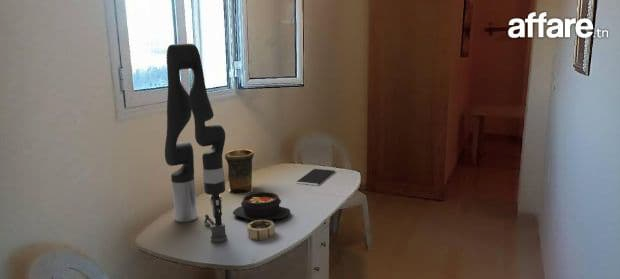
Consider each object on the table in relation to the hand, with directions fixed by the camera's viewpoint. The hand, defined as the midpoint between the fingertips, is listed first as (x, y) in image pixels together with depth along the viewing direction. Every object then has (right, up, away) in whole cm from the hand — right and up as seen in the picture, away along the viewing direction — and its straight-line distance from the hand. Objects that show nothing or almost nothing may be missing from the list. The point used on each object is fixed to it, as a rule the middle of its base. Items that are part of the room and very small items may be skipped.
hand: (217, 221), depth 163 cm
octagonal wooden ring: (+16, -6, +6) cm, 18 cm away
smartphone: (+38, +9, +77) cm, 86 cm away
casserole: (+14, -3, +25) cm, 28 cm away
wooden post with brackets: (-6, -5, +15) cm, 17 cm away
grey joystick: (0, -7, +2) cm, 8 cm away
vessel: (0, +4, +59) cm, 59 cm away
